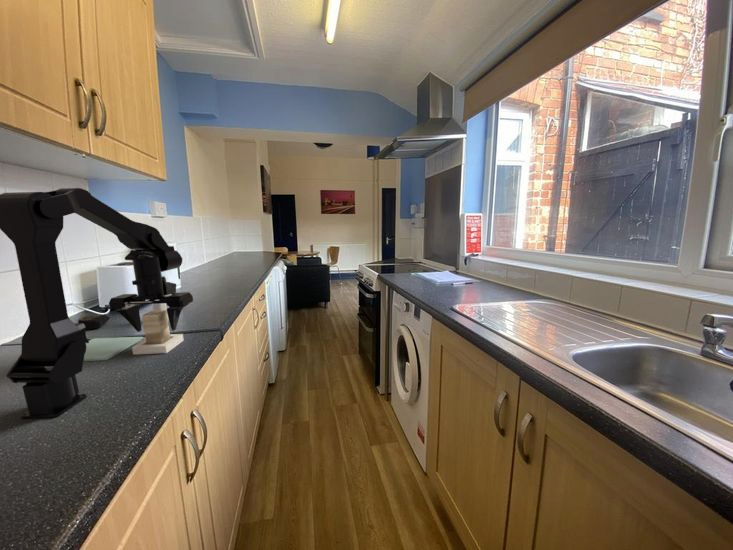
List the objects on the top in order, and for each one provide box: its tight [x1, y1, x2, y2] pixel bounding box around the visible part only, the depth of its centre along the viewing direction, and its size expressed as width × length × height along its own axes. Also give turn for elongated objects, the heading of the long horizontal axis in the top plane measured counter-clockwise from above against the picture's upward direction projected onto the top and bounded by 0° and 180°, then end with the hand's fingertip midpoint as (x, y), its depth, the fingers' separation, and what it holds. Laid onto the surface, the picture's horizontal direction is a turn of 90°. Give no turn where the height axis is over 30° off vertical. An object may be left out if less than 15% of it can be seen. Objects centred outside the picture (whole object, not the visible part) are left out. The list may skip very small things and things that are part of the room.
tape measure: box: [77, 314, 110, 331], centre depth 100 cm, size 7×7×4 cm
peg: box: [141, 310, 171, 345], centre depth 83 cm, size 4×4×10 cm
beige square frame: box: [131, 333, 185, 356], centre depth 84 cm, size 8×8×2 cm
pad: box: [83, 336, 144, 362], centre depth 83 cm, size 14×14×1 cm
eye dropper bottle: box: [151, 300, 169, 322], centre depth 105 cm, size 4×6×12 cm
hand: (156, 330), depth 83 cm, fingers open, 9 cm apart
